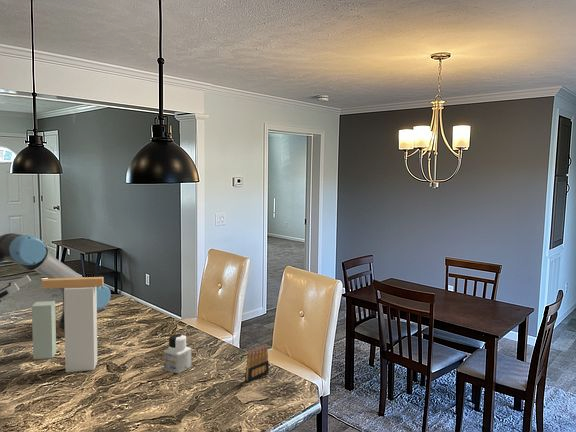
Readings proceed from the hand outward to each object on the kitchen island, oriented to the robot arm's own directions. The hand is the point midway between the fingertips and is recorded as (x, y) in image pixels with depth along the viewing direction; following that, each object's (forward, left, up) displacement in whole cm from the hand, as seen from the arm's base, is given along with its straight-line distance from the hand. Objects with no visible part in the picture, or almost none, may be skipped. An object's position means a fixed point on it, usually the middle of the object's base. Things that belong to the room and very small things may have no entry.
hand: (23, 282), depth 161 cm
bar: (0, +17, -2) cm, 17 cm away
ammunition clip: (+23, +84, -35) cm, 94 cm away
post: (0, +19, -34) cm, 40 cm away
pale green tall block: (-14, +3, -34) cm, 37 cm away
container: (+9, +55, -35) cm, 66 cm away
